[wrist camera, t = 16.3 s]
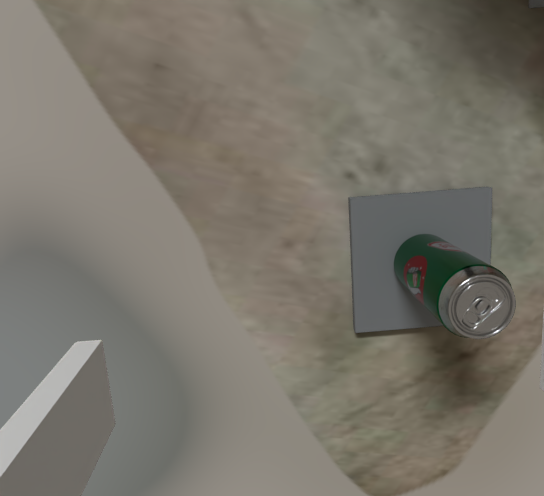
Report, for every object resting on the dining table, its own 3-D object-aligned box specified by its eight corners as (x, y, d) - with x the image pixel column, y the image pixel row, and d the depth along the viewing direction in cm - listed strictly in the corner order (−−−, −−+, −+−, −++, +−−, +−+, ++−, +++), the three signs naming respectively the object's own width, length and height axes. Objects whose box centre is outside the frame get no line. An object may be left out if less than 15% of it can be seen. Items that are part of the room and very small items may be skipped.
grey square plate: (348, 197, 43) (350, 198, 42) (487, 186, 43) (492, 187, 42) (353, 329, 45) (355, 332, 45) (484, 318, 46) (488, 321, 45)
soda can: (461, 254, 43) (538, 298, 32) (424, 299, 44) (486, 359, 32) (417, 220, 43) (478, 252, 31) (379, 267, 43) (426, 316, 32)
